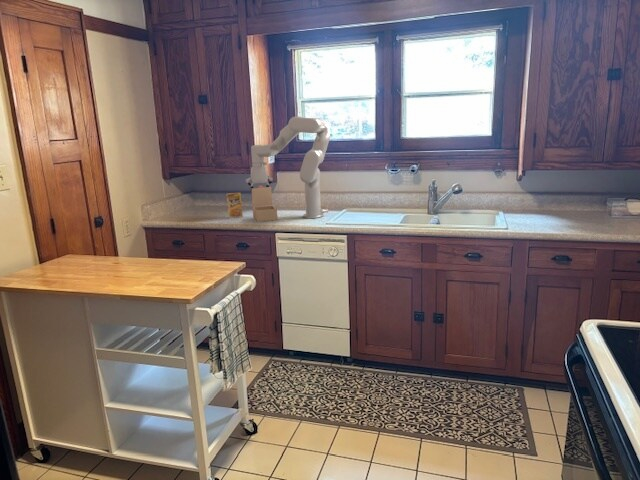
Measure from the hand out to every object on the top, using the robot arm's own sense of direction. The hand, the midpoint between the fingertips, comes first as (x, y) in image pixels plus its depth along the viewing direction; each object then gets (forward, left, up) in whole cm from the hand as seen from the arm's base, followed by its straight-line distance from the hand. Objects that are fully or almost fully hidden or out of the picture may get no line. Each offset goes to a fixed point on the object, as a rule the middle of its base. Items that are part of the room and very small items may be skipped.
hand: (260, 192), depth 310 cm
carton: (0, +12, -15) cm, 20 cm away
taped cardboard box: (0, +6, -2) cm, 6 cm away
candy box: (+16, -4, -15) cm, 23 cm away
